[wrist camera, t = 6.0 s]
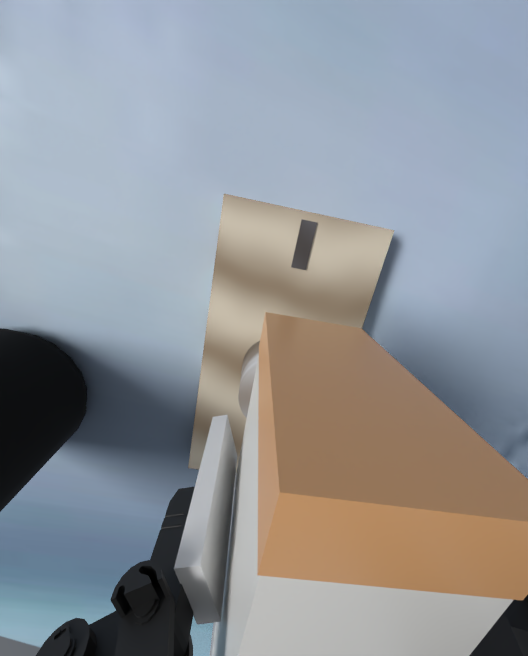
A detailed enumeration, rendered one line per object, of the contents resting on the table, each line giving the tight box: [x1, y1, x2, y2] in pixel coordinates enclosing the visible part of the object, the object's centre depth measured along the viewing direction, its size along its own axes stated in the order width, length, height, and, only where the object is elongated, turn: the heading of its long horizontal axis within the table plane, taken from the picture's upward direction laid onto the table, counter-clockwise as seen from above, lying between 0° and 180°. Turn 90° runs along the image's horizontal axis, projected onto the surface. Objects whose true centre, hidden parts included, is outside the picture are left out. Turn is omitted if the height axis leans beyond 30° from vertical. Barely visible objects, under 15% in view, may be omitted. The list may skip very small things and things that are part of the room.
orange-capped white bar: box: [212, 312, 528, 656], centre depth 11 cm, size 4×12×11 cm, turn 170°
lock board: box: [188, 194, 394, 472], centre depth 19 cm, size 22×11×6 cm, turn 169°
